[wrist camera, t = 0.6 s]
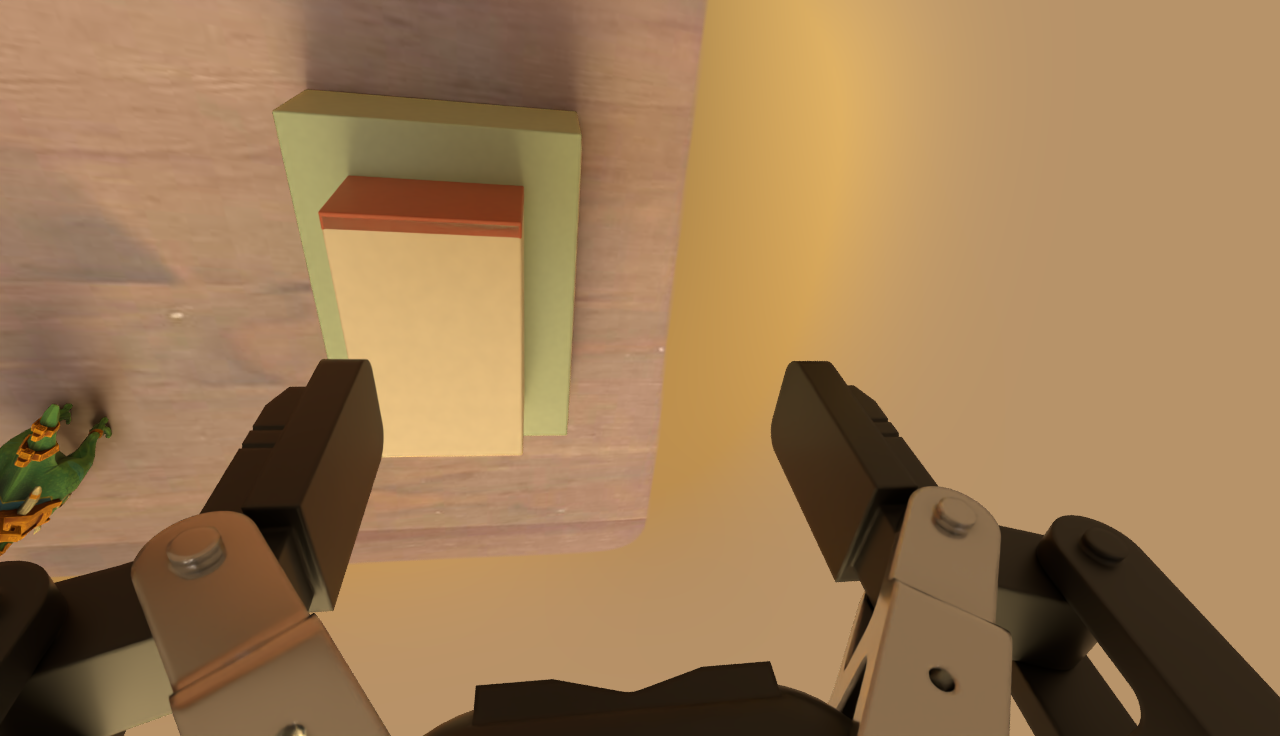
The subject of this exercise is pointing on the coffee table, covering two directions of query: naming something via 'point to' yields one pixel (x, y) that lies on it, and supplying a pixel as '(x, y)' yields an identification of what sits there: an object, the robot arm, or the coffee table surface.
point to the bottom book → (455, 152)
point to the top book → (434, 308)
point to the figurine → (40, 474)
